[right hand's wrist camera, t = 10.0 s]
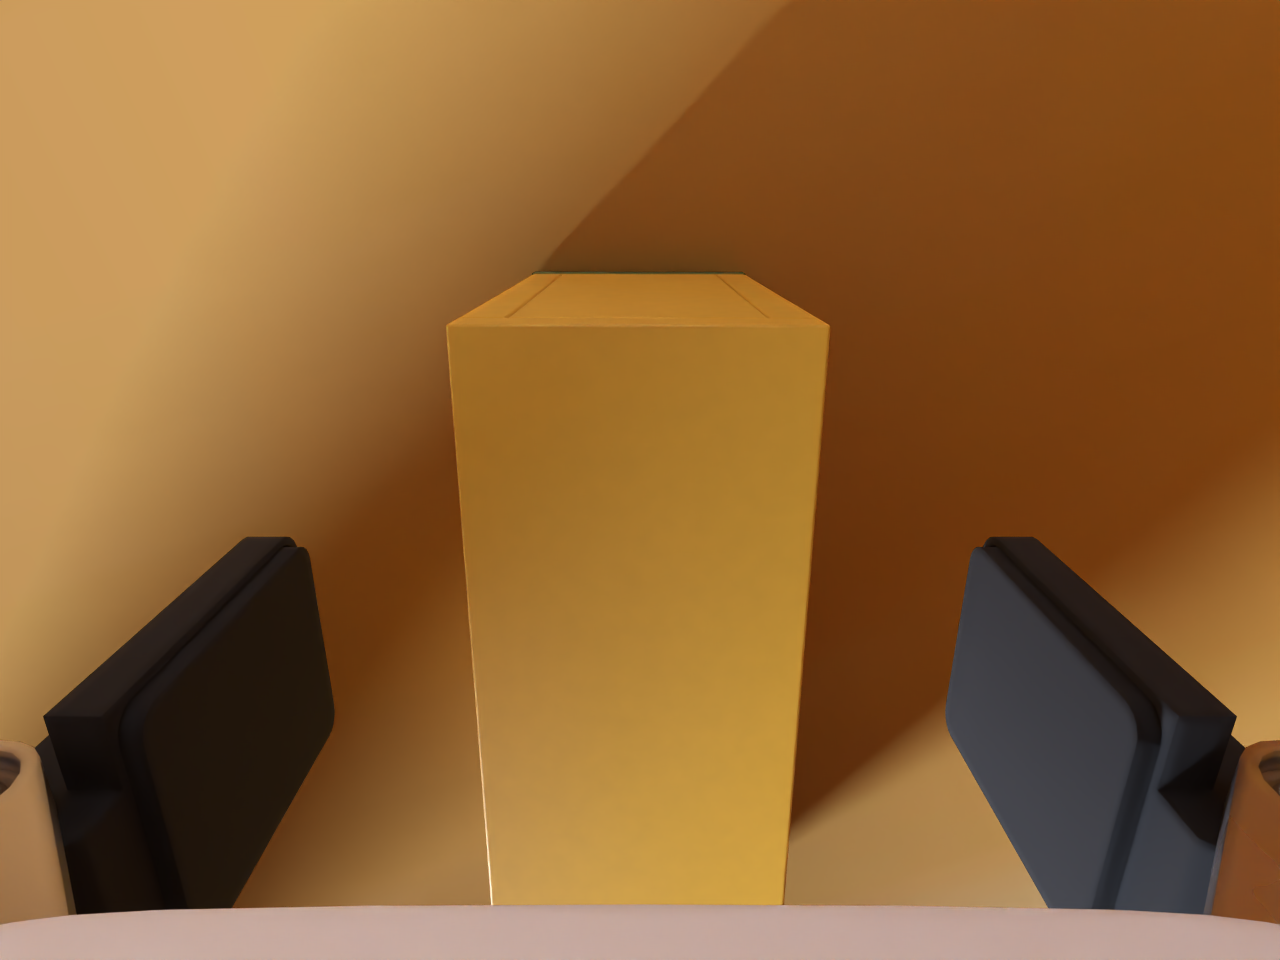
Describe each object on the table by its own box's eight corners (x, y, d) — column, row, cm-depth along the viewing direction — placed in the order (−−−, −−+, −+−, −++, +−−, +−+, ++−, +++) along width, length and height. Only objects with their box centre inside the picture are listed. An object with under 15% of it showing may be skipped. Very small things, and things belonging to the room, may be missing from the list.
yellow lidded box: (722, 730, 29) (773, 1046, 18) (553, 729, 29) (501, 1046, 18) (742, 272, 23) (831, 324, 12) (535, 271, 23) (444, 323, 12)
